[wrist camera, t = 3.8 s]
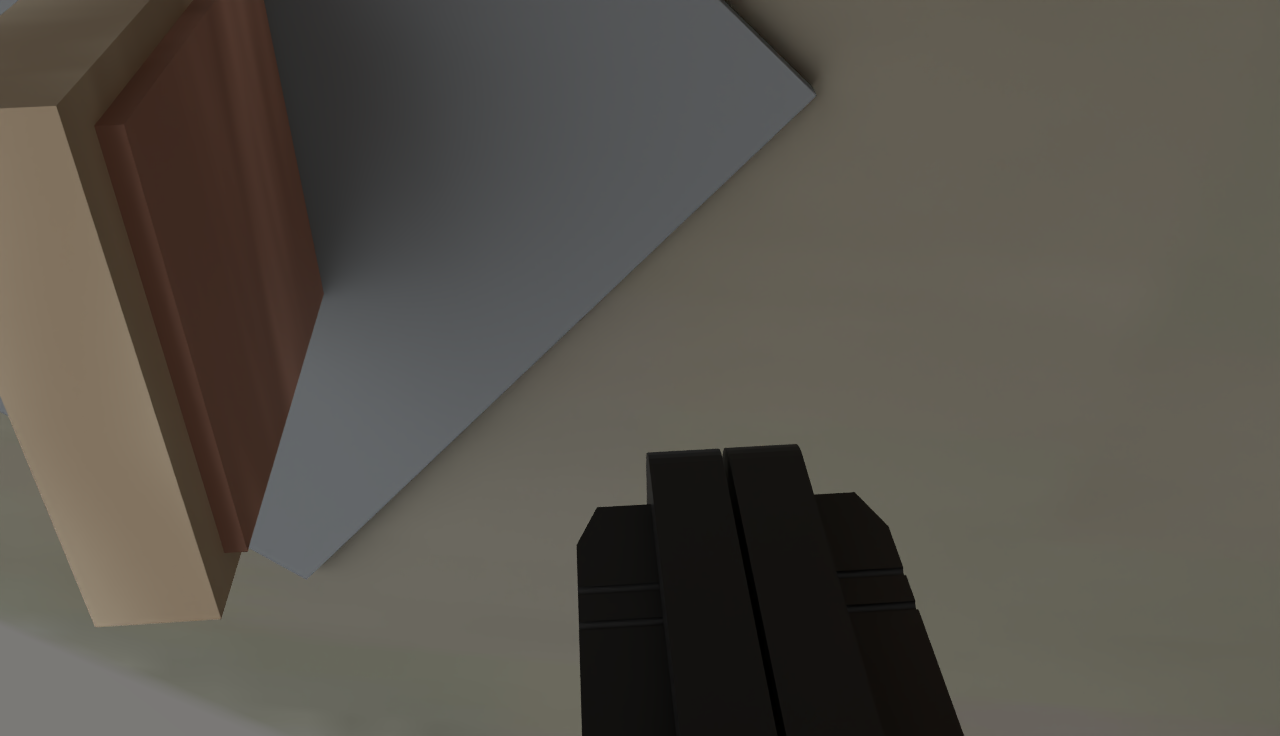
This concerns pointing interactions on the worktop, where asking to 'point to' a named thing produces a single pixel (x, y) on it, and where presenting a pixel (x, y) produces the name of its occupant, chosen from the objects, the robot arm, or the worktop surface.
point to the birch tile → (150, 287)
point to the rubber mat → (481, 208)
